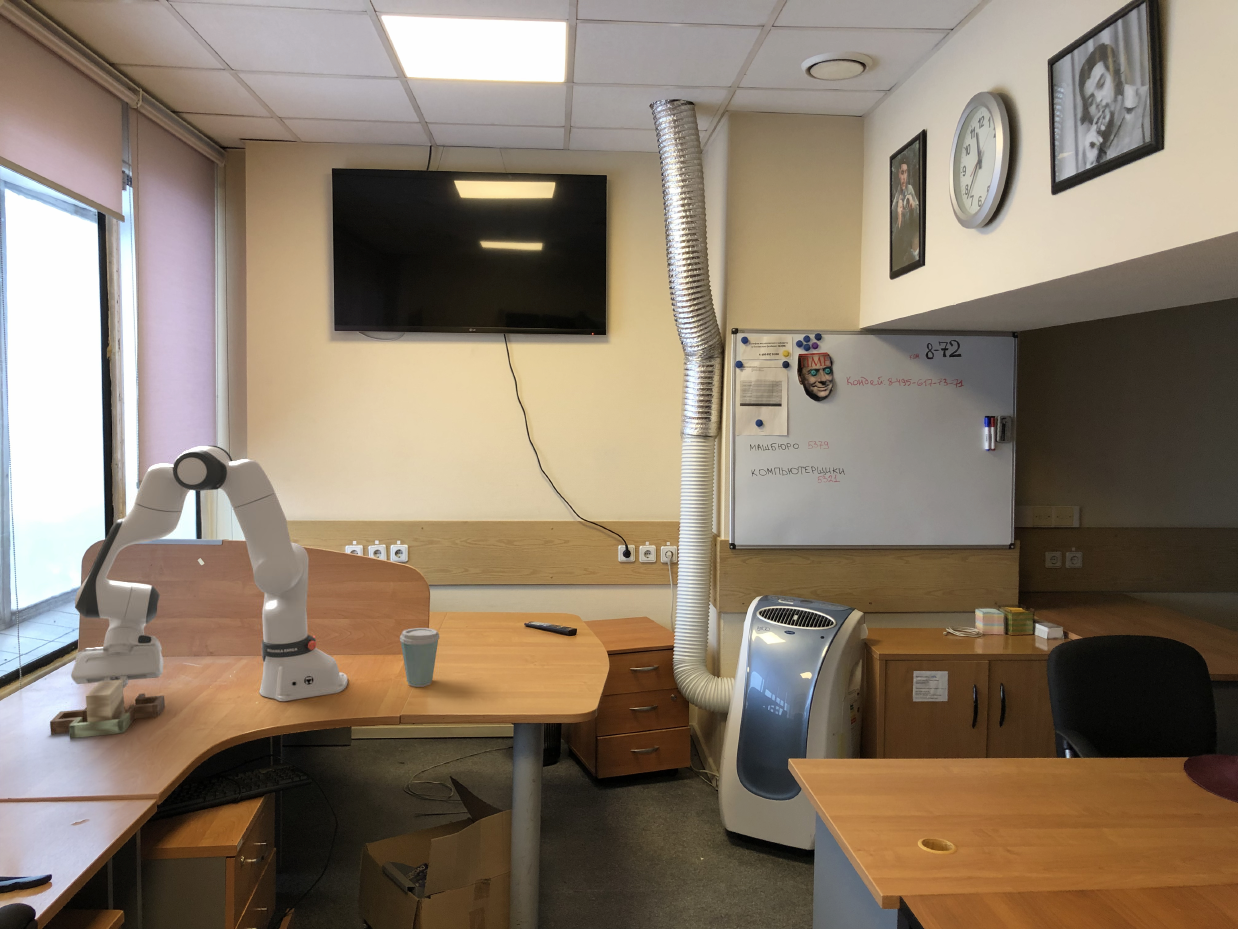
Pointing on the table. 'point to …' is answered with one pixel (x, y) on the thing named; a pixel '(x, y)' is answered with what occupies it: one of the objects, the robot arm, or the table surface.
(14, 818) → the table surface
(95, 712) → the beech block
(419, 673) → the disposable coffee cup
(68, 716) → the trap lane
